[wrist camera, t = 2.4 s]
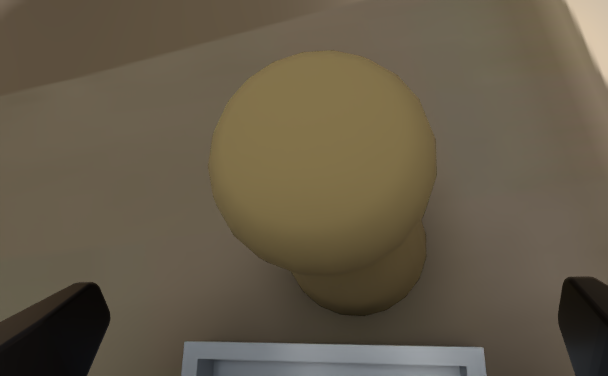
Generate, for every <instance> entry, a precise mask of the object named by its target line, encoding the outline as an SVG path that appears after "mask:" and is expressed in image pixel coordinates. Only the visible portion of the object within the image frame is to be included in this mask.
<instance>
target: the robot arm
mask: <svg viewBox="0 0 608 376" xmlns="http://www.w3.org/2000/svg"><path fill="white" fill-rule="evenodd" d="M109 323H110V311H109V309H108V306H107V304H106V301H105V299H104V297H103V294H102V292H101V289H100V287H99V286H98V285H97V284H96V283H93V282H79V283H75V284H72V285H70V286H68V287H67V288H65V289H63V290H61V291H59V292H57V293H55V294H53V295H51V296H49V297H47V298H46V299H44V300H42V301H40V302H38V303H36V304H34V305H32V306H30V307H28V308H26V309H24V310H23V311H21V312H19V313H17V314H15V315H13V316H11V317H9V318H7V319H5V320H3V321H2V322H0V376H87V374H88V372H89V370H90V367H91V365H92V363H93V360H94V358H95V356H96V353H97V351H98V349H99V346H100V344H101V342H102V339H103V337H104V335H105V333H106V330H107V328H108V326H109ZM558 323H559V327H560V330H561V333H562V336H563V339H564V342H565V345H566V348H567V351H568V354H569V357H570V360H571V363H572V366H573V369H574V372H575V375H576V376H608V285H606V284H605V283H603V282H601V281H600V280H598V279H596V278H594V277H568V278H566V279H565V280H564V282H563V286H562V292H561V298H560V305H559V311H558Z"/></svg>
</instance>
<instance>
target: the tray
mask: <svg viewBox="0 0 608 376" xmlns="http://www.w3.org/2000/svg"><path fill="white" fill-rule="evenodd" d="M181 376H487V375H486V367H485V358H484V349H483V347H473V346H427V345H376V344H326V343H275V342H224V341H185V343H184V353H183V363H182V372H181Z"/></svg>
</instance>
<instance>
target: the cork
mask: <svg viewBox="0 0 608 376" xmlns="http://www.w3.org/2000/svg"><path fill="white" fill-rule="evenodd" d="M208 169H209V175H210V181H211V186H212V192H213V198H214V200H215V202H216V205H217V207H218V209H219V210H220V212H221V214H222V216H223V218H224V219H225V221H226V223H227V225H228V226H229V228H230V230H231V232H232V233H233V235H234V236H235V237H236V238H237V239H238V240H239V241H241V242H242V243H243V244H244V245H245V246H246V247H248V248H249V249H250V250H251V251H252V252H253V253H255V254H256V255H257V256H258V257H259V258H261V259H263V260H265V261H266V262H269V263H271V264H274V265H276V266H279V267H282V268H284V269H287V270H289V271H291V272H292V274H293V275H294V277H295V279H296V280H297V282H298V284H299V285H300V287H301V289H302V290H303V292H304V293H306V294H307V295H308V296H309V297H310V298H311V299H313V300H314V301H315V302H316V303H317V304H318V305H320V306H322V307H324V308H326V309H329V310H331V311H334V312H336V313H339V314H342V315H358V316H365V315H369V314H373V313H376V312H380V311H384V310H387V309H388V308H390V307H391V306H393V305H394V304H396V303H397V302H399V301H400V300H402V299H403V298H405V297H406V296H407V294H408V293H409V292H410V290H411V289H412V288H413V286H414V285H415V284H416V282H417V281H418V280H419V278H420V275H421V272H422V269H423V265H424V262H425V259H426V234H425V231H424V227H423V224H422V221H421V219H422V218H423V216H424V213H425V210H426V207H427V204H428V200H429V197H430V194H431V191H432V188H433V185H434V182H435V179H436V176H437V166H436V140H435V137H434V135H433V132H432V130H431V127H430V125H429V122H428V120H427V117H426V115H425V113H424V110H423V108H422V105H421V103H420V100H419V99H418V97H417V96H416V95H415V94H414V93H413V92H412V91H411V90H410V89H409V88H408V86H407V85H406V84H405V83H404V82H403V81H402V80H401V79H400V78H399V76H398V75H396V74H394V73H392V72H391V71H389V70H387V69H385V68H384V67H382V66H380V65H378V64H376V63H375V62H373V61H371V60H369V59H367V58H364V57H362V56H357V55H352V54H348V53H343V52H338V51H334V50H330V51H314V52H302V53H299V54H296V55H293V56H290V57H287V58H284V59H281V60H278V61H275V62H273V63H271V64H270V65H268V66H267V67H265V68H264V69H262V70H261V71H259V72H258V73H256V74H255V75H253V76H252V77H250V78H249V79H248V80H247V81H246V82H245V83H244V84H243V85H242V86H241V87H240V89H239V90H238V91H237V92H236V93H235V94H234V95H233V96H232V98H231V99H230V100H229V101H228V103H227V105H226V107H225V109H224V111H223V113H222V115H221V118H220V120H219V122H218V124H217V126H216V128H215V131H214V133H213V136H212V143H211V150H210V156H209V163H208Z"/></svg>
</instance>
